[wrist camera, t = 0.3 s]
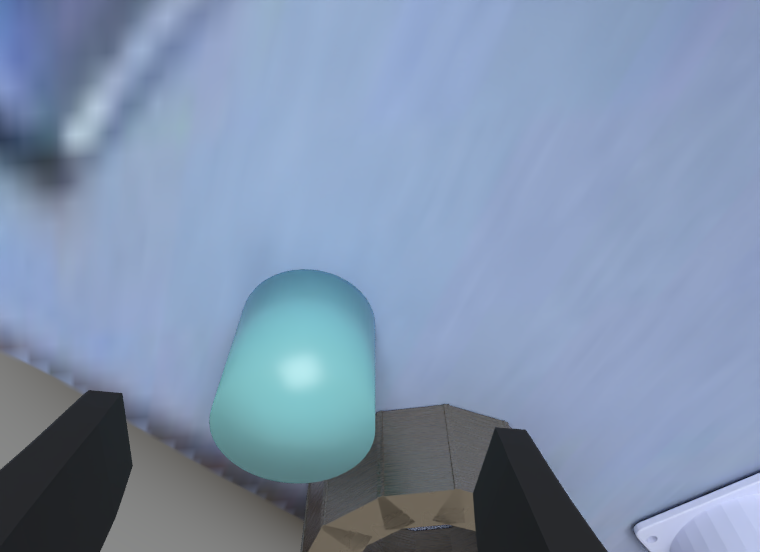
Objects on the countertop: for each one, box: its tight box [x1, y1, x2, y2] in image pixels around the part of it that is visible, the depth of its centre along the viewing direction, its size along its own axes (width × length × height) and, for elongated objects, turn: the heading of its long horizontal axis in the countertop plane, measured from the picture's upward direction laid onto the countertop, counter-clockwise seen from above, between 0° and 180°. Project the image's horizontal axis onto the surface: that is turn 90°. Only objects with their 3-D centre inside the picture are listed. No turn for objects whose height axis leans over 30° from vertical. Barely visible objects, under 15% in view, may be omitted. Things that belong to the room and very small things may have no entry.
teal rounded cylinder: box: [209, 269, 375, 483], centre depth 19 cm, size 5×5×5 cm
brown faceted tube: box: [301, 404, 512, 552], centre depth 24 cm, size 10×10×4 cm
